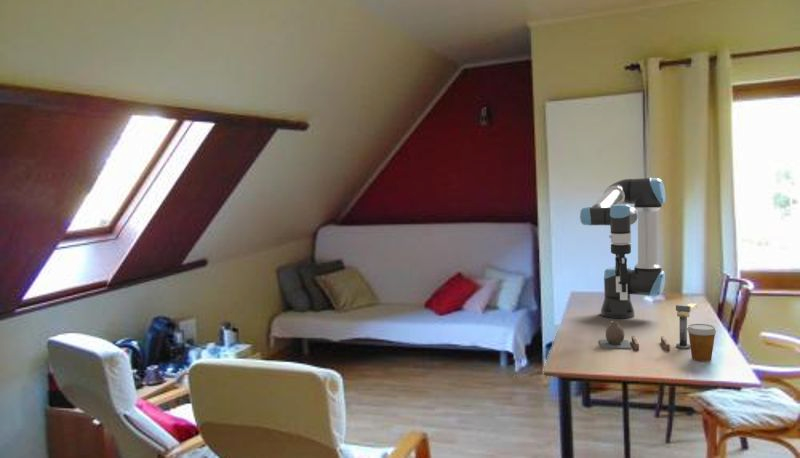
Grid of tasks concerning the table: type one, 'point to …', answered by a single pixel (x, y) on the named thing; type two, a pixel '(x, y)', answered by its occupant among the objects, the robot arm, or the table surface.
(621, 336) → the vase
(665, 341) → the cradle
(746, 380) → the table surface
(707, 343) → the disposable coffee cup
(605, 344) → the mat
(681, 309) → the latch
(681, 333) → the post
